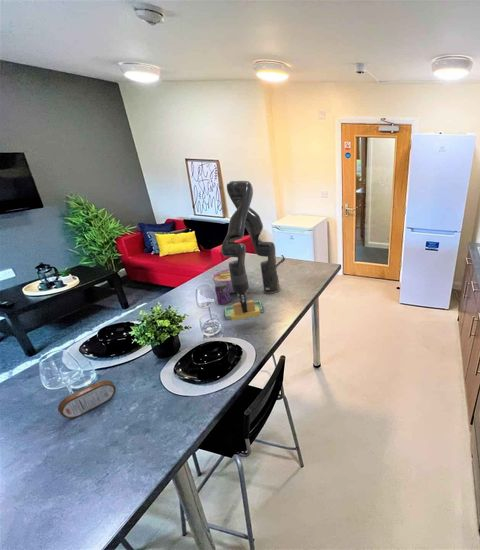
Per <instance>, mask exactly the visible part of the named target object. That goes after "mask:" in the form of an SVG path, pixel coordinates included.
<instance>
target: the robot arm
mask: <svg viewBox="0 0 480 550" xmlns="http://www.w3.org/2000/svg"><path fill="white" fill-rule="evenodd" d="M226 192H227V194H228V196H229V198H230V200H231V202H232V204H233V205H234V207H235V209H236V210H235V211H234V213H233V214H232V215H231V217H230V218H229V221H228V228H227V234H226V236H225V238H224V240H223V242H222V244H221V247H220V252H221V255H222V256H223V257H224V258H237V259H234V260H232V261H229V263H228V269H229V270H230V278H231V283H232V288H233V291H234V293H237V298H238V300H239V302H240V303H241V307H242V310H243V313H246V312H248V311H247V304H246V302H247V301H248V299H247V297H248V296H247V295H248V294H247V291H248V290H249V289H250V285H249V279H248V275H247V271H246V265H245V263H246V262H245V261H246V260H245V259H246V254H247V248H246V245H245V244H244V243H243V242H240V241H239V240H242V239H243V238H244V236H245V230H246V231H247V233H248V235H249V237H250V241H251V243H252V245H253V249H254V252H255V254H256V255H257V256H258V257H262V258H263V257H264V258H267V259H264V260H262V261H261V262H260V271H261V272H260V273H261V279H262V287H263V292H264V293H265V294H268V295H270V294H271V295H272V294H277V293H278V292H279V291H280V282H279V275H278V270H277V267H278V266H279V265H280V264H281V263H282V262H283V261H284V260H285V256H284V255H283V254H282V255H280V256H281V257H282V259H281V260H280V261H279V262H278V263H277V253H276V245H275V243H274V241H273V242H272V241H264V240H262V239H261V237H260V236H261V234H262V232H263V230H264V229H263V228H264V224H263V221H262V219H261V216H260V215H259V214H258V212H257V211H256V210H254V209H253V208H251V204H252V201H253V195H254V189H253V185H252V183H251V182H250V181H249V180H231V181H228V182H227V183H226ZM236 241H237V242H236ZM238 241H239V242H238Z"/></svg>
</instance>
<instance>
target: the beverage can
mask: <svg viewBox="0 0 480 550" xmlns="http://www.w3.org/2000/svg"><path fill="white" fill-rule="evenodd" d="M214 292H215V296H216V301H217V304H220V305H225V304H228V303H229V302H231V295H230V294H231V293H229V289H228V285H227V284H226V282H219V283H216V284H215V283H214Z"/></svg>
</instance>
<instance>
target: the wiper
mask: <svg viewBox="0 0 480 550" xmlns="http://www.w3.org/2000/svg"><path fill="white" fill-rule="evenodd" d="M254 302H255V301H254V299H250V300H247V302H246V304H247V311H248V312H246V313H243V310H242V307H241V303H240V301H239V302H233V303H232V306H233V308H234V312H230V315H231V319H230V322H235V321H239V320H244V319H249V318H254V317H259V316H261V312H260V310H259V307H255V305H254Z"/></svg>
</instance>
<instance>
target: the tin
mask: <svg viewBox="0 0 480 550" xmlns="http://www.w3.org/2000/svg"><path fill="white" fill-rule="evenodd" d="M116 392H117V388H116V385H115V383H113V382H112V381H111V380H108V379H107V380H100V381H97V382H94V383H93V384H90V385H88V386H86V387H84V388H81V389H80V390H78V391H76V392H73V393H71V394H68V395H66V397H64V398H63V399H62V400H61V401H60V402H59V404H58V406H57V411H58V413H59V414H60V416H62V417H63V418H66V419H75V418H77V417H80V416H82V415H84V414H86V413H87V412H90V411H91V410H94V409H95V408H97V407H99V406H101V405H103V404H105V403H107V402H109V401H110V400H111V399H112V398H113V397H114V396H115V394H116Z"/></svg>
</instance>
